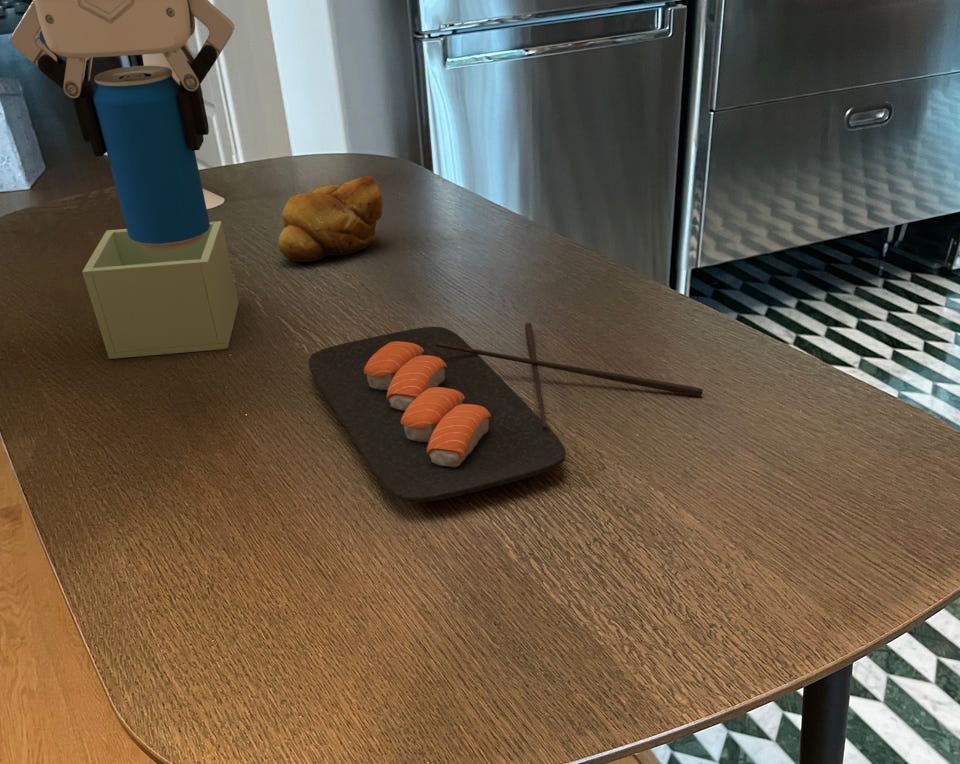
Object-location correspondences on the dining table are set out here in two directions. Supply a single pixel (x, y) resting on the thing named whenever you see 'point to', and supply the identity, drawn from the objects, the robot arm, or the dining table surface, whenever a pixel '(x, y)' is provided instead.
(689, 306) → the dining table surface
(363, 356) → the sushi plate
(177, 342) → the trash bin
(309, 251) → the bread roll
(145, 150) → the beverage can
